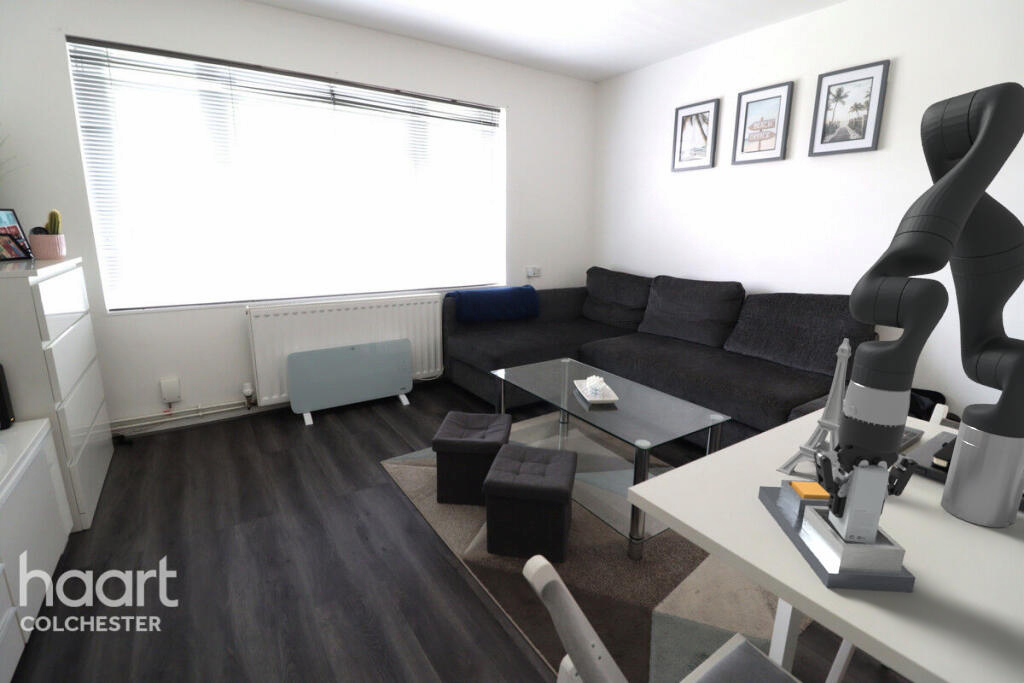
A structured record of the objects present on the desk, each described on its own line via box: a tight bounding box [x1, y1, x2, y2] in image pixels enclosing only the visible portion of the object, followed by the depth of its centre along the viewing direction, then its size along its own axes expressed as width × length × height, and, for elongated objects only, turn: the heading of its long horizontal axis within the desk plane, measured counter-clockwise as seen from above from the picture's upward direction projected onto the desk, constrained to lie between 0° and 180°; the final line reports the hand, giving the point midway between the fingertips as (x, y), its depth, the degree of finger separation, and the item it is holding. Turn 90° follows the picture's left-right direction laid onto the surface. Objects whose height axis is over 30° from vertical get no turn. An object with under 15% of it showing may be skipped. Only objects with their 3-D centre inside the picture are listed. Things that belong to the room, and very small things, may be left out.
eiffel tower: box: [776, 337, 852, 477], centre depth 100 cm, size 13×13×30 cm
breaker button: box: [791, 481, 830, 499], centre depth 87 cm, size 4×4×3 cm
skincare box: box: [829, 465, 890, 544], centre depth 74 cm, size 6×4×12 cm
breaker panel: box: [757, 479, 917, 593], centre depth 82 cm, size 12×24×6 cm, turn 176°
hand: (853, 515), depth 75 cm, fingers closed on skincare box, 4 cm apart
